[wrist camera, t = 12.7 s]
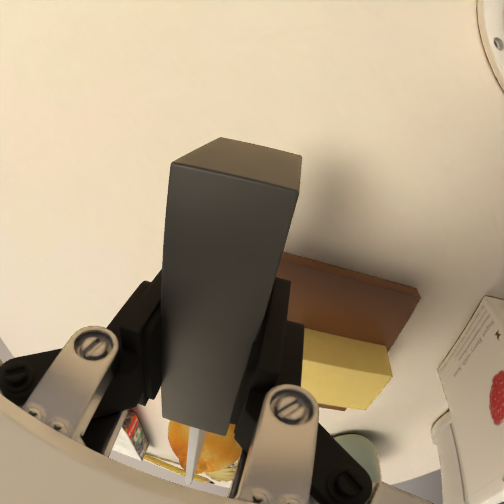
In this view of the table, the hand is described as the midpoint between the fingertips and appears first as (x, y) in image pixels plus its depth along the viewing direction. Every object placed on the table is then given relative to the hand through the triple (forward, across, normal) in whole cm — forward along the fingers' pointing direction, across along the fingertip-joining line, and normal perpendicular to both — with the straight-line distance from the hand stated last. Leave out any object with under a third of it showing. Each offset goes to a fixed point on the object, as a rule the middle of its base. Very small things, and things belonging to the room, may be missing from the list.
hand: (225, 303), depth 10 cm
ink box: (+8, +12, +40) cm, 43 cm away
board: (+10, -5, +10) cm, 15 cm away
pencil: (+9, +4, +44) cm, 45 cm away
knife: (+1, 0, +4) cm, 4 cm away
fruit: (+10, 0, +24) cm, 26 cm away
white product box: (+11, -23, +6) cm, 26 cm away
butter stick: (+9, -8, +10) cm, 16 cm away
